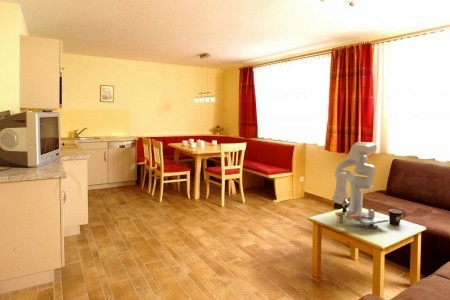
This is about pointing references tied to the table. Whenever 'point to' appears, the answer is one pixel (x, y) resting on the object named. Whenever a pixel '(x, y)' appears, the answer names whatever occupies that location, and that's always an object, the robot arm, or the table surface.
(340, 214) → the yellow block
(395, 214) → the coffee mug
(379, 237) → the table surface
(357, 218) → the bracket
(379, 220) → the square metal plate
